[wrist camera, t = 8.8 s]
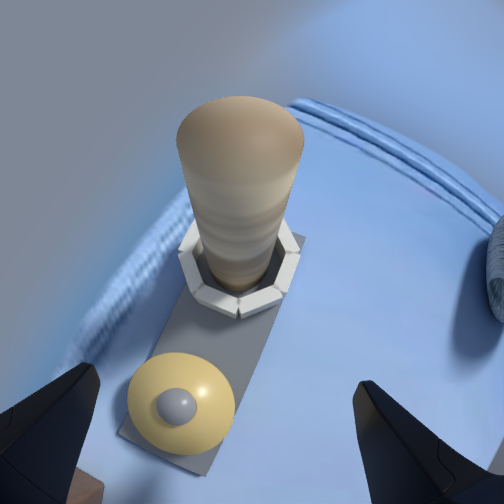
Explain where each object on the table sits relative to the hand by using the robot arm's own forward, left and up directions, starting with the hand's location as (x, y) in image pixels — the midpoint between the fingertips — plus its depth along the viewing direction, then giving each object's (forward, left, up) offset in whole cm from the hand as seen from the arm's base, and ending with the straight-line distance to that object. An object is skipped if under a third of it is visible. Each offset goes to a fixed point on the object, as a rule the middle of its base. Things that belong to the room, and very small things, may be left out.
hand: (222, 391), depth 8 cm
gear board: (+2, +2, -11) cm, 12 cm away
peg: (+8, +3, -11) cm, 13 cm away
